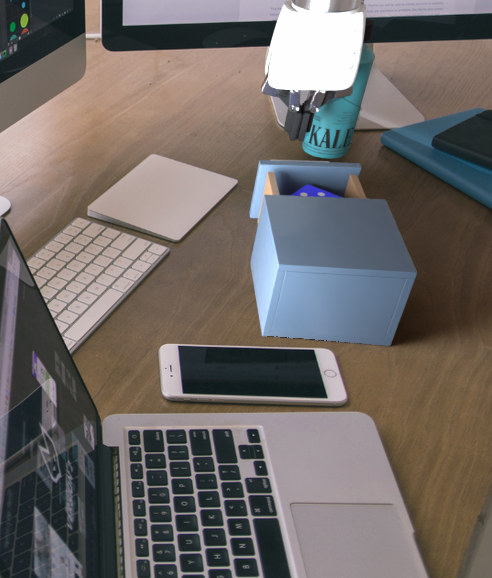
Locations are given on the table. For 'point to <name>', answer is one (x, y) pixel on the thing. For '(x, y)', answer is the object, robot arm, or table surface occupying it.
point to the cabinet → (330, 269)
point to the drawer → (304, 179)
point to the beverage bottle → (340, 112)
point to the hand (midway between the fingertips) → (295, 136)
